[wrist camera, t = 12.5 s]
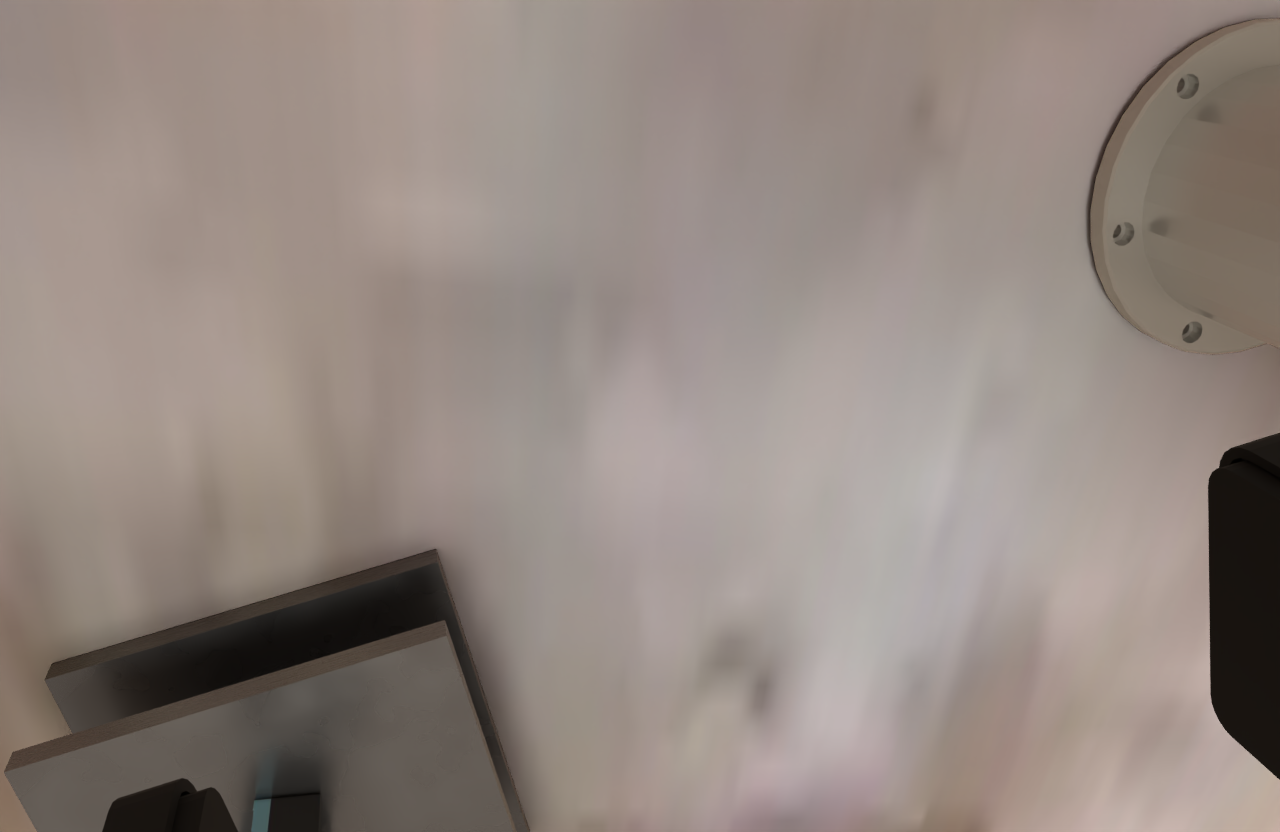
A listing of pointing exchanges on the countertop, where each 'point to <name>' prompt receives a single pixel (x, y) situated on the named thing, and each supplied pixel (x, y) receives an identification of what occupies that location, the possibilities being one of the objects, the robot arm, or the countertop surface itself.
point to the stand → (287, 714)
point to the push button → (287, 814)
